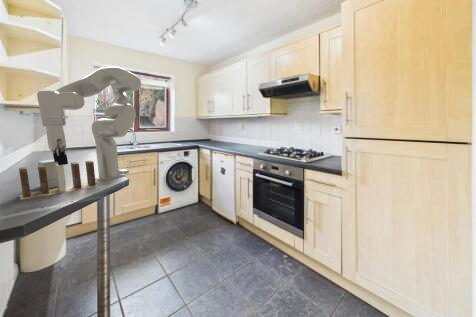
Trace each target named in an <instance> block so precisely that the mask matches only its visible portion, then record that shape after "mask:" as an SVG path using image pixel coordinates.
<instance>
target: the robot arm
mask: <svg viewBox="0 0 476 317" xmlns="http://www.w3.org/2000/svg"><path fill="white" fill-rule="evenodd" d="M109 86H110V87H111V89H112V93H113V97H112V99H111V101H110V102H109V104H108V105H107V106H106V108H105V110H104V117H105V118H99V119H96V120H95V121H93V122H92V124H91V133H92V135H93V139H94V142H95V152H96V153H95V154H96V160H97V162H96V163H97V171H98V176H95V180H101V181H102V180H103V181H104V180H105V181H107V180H114V179H119V178H121V177H123V175H124V174H125V175H127V174H129V173H130V172H129V169H120V167H119V157H118V146H117V143H116V140H115V138H124V137H125V136H126V135H127V134H128V133H129V131H130V129H131V127H132V125H133V124H134V121H135V119H136V117H137V112H136V111H137V110H136V108H135V107H134V106H133V105H132V104H130V102H131V101H130V98H129V97H128V94H127V92H136V91H138V90H140V88H142V81H141V79H140V77H138V75H136V74H135V73H133V72H130V71H129V70H126V69H125V68H122V67H120V66H104V67H100V68H98V69H95V71H93V72H92V73H90V74H89V75H87V76H85V77H83V78H81V79H78V80H76V81H73V82H71V83H69V84H66V85H64V86H62V87H59V88H58V89H56V90H55V91H54V90H38V92H37V93H36V97H37V98H36V99H37V103H38V107H39V108H38V109H39V113H40V120H41V125H42V127H45V130H46V138H47V145H48V146H47V147H48V149H49V150H51V151H52V156H53V160H54V162H58V165H63V166H65V165H69V164H68V163H69V161H68V155H67V152H66V150H67V142H66V135H65V130H64V126H67V123H66V122H67V121H66V117H65V116H66V115H65V111H78V110H80V109H82V108H83V107H84V105H85V103H86V102H85V99H84V98H88V97H93V96H96V95H98V94H101V92H102V91H104V90H105V89H107V88H108V87H109Z"/></svg>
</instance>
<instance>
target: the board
mask: <svg viewBox="0 0 476 317" xmlns="http://www.w3.org/2000/svg"><path fill="white" fill-rule="evenodd" d="M65 187H66V191H61V192H60V191H59V190H58V187H57V188H50V189H49V194H44V195H43V194H42V192H41V190H39V191H34V192H33V191H32V192H30V194H31V197H26V198H24V197H23V193H22V194H21V193H20V194H19V195H18V196H19V199H20V201H21V200H27V199H28V200H29V199H34V198H37V197H38V198H39V197H44V196H49V195H56V194H60V193H62V194H63V193H68V192H72V191H78V190H83V189H90V188H94V187H95V188H97V187H100V184H97V183H96V186H89V185H88V183H84V184H83V183H81V187H82V188H79V189H76V188H74V186H73V185H70V186H65Z"/></svg>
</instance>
